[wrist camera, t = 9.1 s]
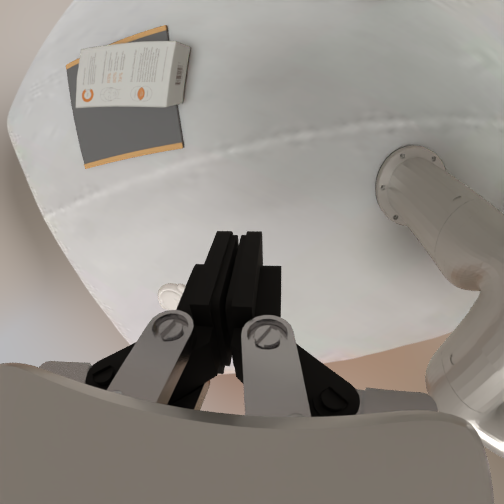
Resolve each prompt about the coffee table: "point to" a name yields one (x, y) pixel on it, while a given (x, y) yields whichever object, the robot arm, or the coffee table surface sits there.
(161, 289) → the astronaut figurine
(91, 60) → the small box
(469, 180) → the coffee table surface
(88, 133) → the mat
